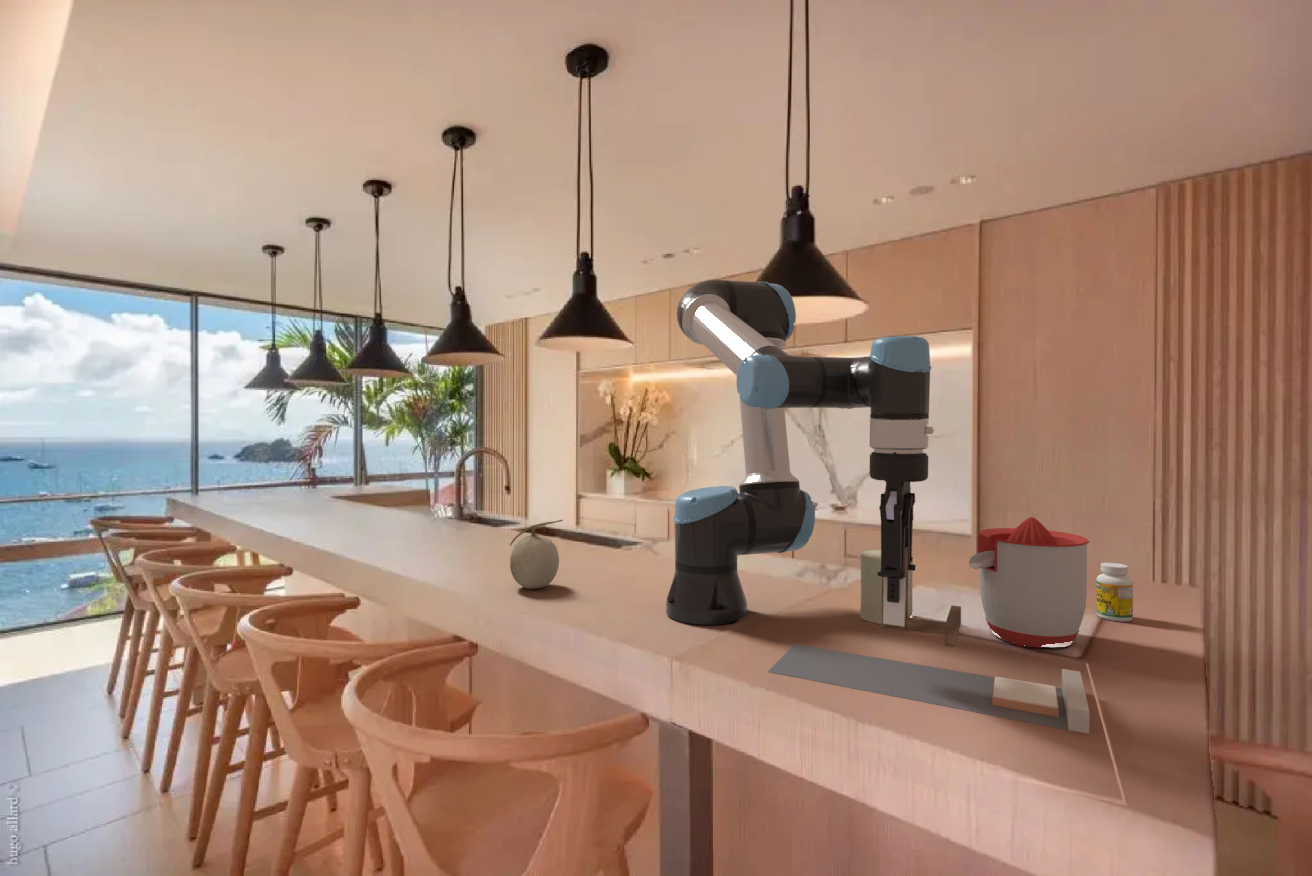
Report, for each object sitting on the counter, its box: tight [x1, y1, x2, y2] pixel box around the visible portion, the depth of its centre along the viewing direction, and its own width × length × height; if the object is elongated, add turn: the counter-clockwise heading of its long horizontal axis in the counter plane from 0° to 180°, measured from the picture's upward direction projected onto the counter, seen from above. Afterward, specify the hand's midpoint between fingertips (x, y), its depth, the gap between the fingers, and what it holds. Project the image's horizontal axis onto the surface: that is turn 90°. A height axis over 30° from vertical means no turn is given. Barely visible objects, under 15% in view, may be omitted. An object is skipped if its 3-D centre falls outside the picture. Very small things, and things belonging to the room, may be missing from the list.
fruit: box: [509, 519, 563, 590], centre depth 140 cm, size 10×12×15 cm
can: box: [859, 549, 914, 625], centre depth 117 cm, size 9×9×12 cm
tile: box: [992, 675, 1059, 717], centre depth 81 cm, size 7×7×1 cm
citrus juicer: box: [968, 516, 1090, 649], centre depth 105 cm, size 16×17×20 cm
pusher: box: [881, 546, 962, 648], centre depth 87 cm, size 9×10×11 cm
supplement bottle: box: [1095, 562, 1134, 623], centre depth 116 cm, size 5×5×10 cm
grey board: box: [767, 643, 1090, 735], centre depth 87 cm, size 38×13×3 cm, turn 60°
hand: (896, 619), depth 89 cm, fingers closed on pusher, 3 cm apart
